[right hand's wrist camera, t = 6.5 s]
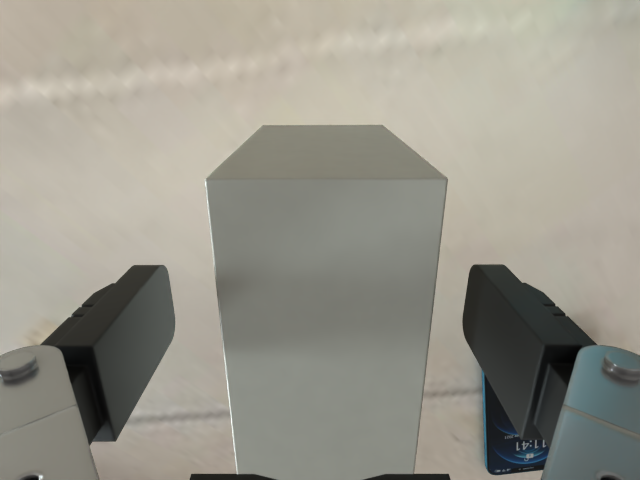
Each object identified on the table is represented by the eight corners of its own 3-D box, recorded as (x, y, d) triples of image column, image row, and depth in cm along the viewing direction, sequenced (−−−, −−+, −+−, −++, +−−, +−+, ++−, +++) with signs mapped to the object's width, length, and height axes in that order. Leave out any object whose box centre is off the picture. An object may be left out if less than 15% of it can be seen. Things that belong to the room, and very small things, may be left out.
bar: (261, 125, 18) (203, 178, 9) (383, 124, 18) (448, 177, 9) (283, 521, 27) (265, 741, 18) (362, 521, 27) (383, 741, 18)
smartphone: (580, 329, 32) (571, 466, 38) (576, 325, 33) (567, 461, 38) (482, 343, 33) (486, 477, 38) (479, 339, 34) (483, 471, 39)
